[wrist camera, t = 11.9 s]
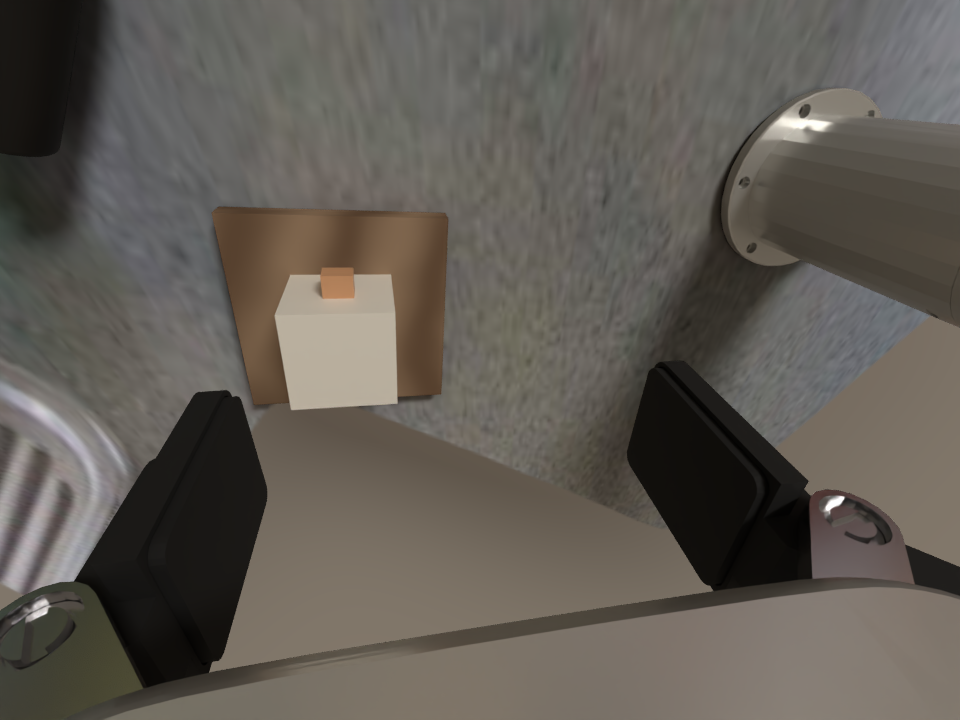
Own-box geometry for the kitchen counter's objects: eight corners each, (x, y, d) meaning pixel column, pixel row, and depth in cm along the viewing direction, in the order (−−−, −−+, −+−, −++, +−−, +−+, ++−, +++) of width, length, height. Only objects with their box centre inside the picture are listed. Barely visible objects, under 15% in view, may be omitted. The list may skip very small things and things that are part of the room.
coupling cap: (287, 253, 29) (270, 291, 24) (390, 254, 30) (394, 289, 25) (305, 375, 34) (294, 428, 29) (393, 371, 35) (397, 420, 30)
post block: (445, 213, 31) (459, 240, 26) (438, 383, 38) (449, 431, 33) (218, 206, 28) (185, 235, 23) (257, 393, 35) (239, 446, 30)
